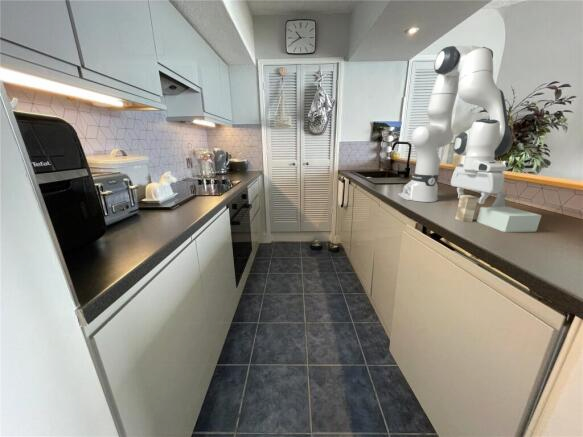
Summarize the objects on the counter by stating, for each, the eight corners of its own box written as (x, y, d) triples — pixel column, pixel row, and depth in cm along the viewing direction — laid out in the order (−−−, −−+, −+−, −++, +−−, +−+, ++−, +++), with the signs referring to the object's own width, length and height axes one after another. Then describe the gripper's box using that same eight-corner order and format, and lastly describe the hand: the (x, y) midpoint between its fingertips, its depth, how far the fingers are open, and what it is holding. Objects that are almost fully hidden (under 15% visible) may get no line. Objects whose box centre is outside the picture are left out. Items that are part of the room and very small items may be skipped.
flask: (507, 219, 97) (514, 196, 94) (485, 216, 101) (491, 193, 98) (506, 215, 102) (512, 193, 99) (484, 212, 107) (490, 191, 104)
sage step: (476, 221, 94) (480, 207, 92) (504, 221, 95) (508, 206, 93) (504, 232, 83) (509, 215, 81) (536, 231, 83) (541, 215, 82)
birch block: (455, 218, 97) (460, 195, 94) (464, 218, 98) (469, 195, 95) (462, 221, 94) (468, 197, 91) (471, 221, 94) (478, 197, 91)
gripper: (449, 163, 98) (444, 196, 102) (494, 166, 79) (485, 206, 83) (463, 163, 99) (457, 195, 103) (511, 166, 79) (501, 206, 83)
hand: (470, 200), depth 93 cm, fingers open, 8 cm apart
